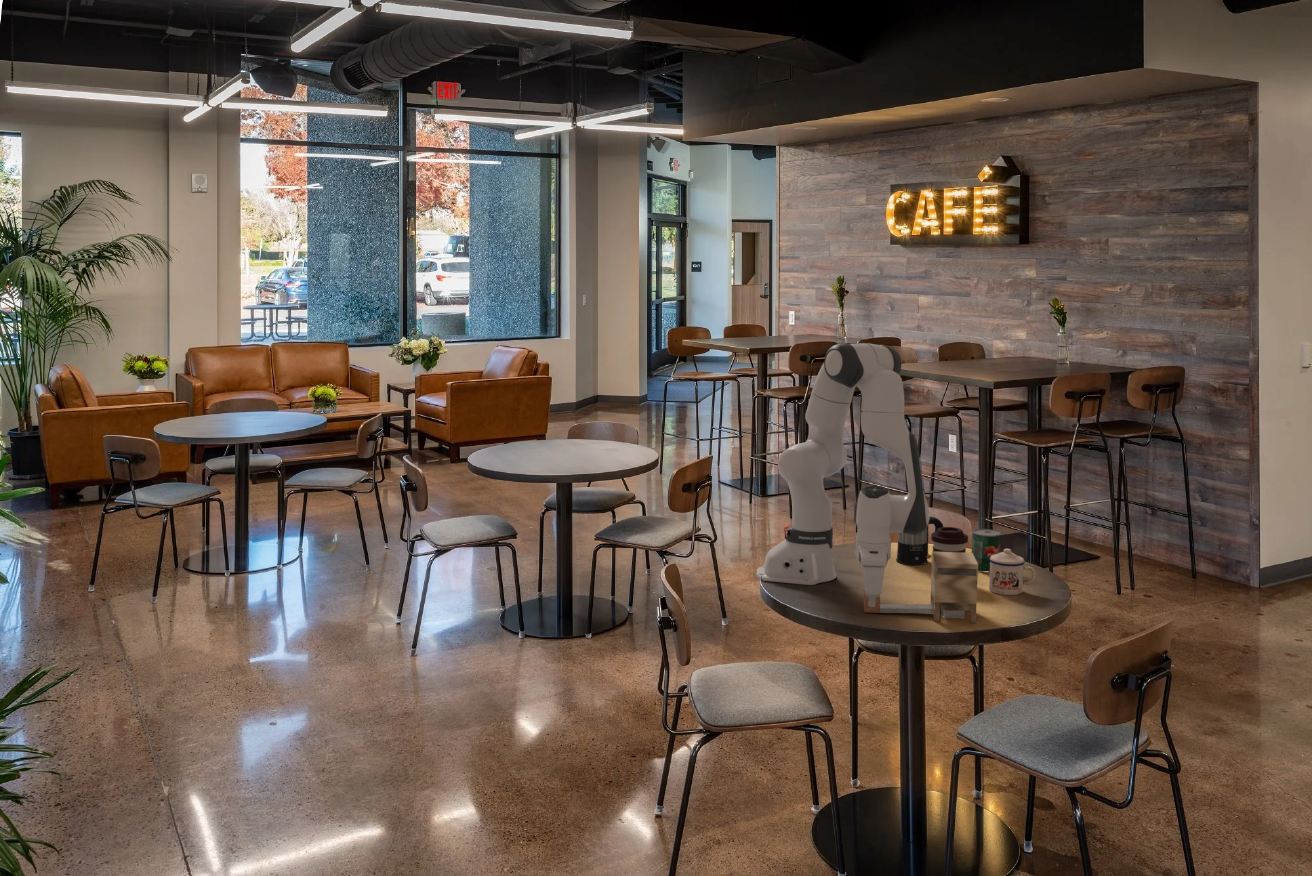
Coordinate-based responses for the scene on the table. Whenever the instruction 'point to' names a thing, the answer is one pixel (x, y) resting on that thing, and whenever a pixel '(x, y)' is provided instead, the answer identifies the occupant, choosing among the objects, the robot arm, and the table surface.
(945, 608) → the block
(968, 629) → the table surface
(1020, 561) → the teacup with lid
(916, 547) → the milk frother
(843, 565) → the table surface
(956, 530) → the coffee cup
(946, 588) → the cabinet
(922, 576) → the table surface
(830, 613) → the table surface
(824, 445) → the robot arm
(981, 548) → the canned tomato
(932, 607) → the blade tool
